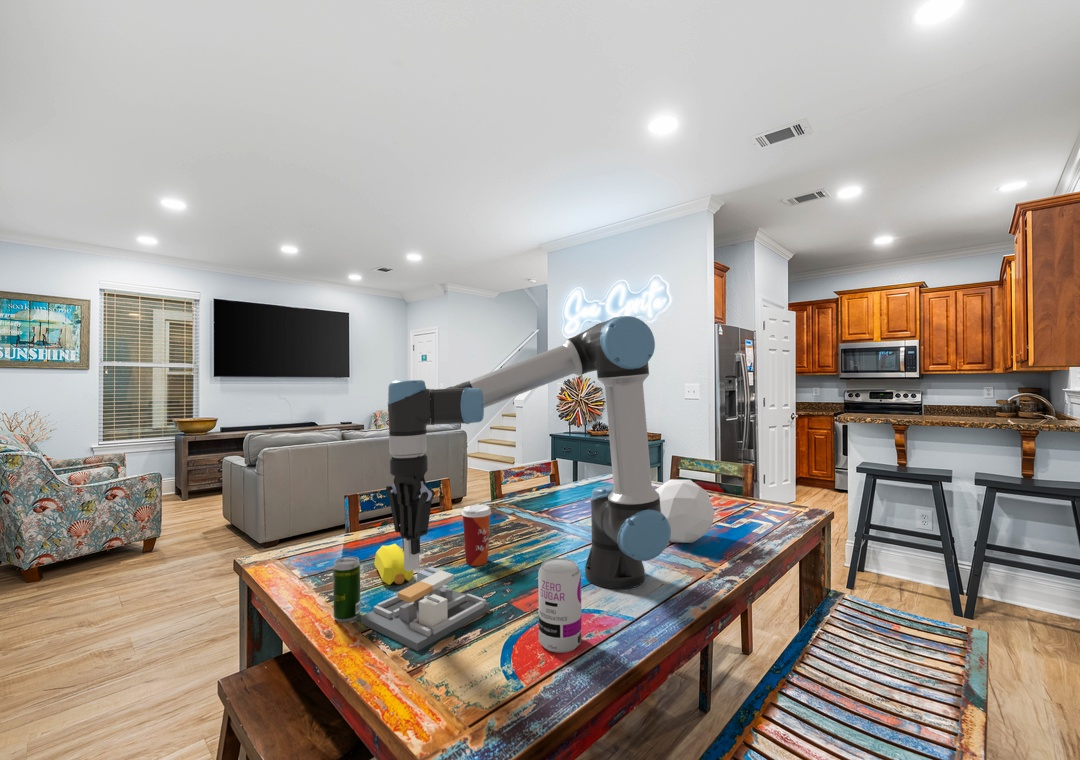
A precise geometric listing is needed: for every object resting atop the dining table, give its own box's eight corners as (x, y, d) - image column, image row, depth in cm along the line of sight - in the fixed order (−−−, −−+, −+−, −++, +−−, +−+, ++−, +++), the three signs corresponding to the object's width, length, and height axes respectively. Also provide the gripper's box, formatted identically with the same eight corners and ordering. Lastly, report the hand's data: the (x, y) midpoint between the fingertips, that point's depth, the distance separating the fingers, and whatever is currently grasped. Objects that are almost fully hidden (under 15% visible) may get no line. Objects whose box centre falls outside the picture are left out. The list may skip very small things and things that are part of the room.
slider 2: (447, 621, 98) (447, 597, 98) (432, 629, 95) (432, 605, 95) (434, 615, 101) (433, 592, 101) (418, 623, 98) (418, 599, 98)
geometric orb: (699, 563, 151) (739, 519, 144) (648, 548, 144) (687, 501, 137) (675, 518, 167) (711, 476, 160) (629, 503, 160) (663, 458, 153)
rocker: (453, 582, 108) (453, 574, 108) (410, 606, 98) (409, 597, 98) (441, 578, 110) (441, 570, 110) (397, 601, 101) (397, 592, 101)
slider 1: (442, 589, 113) (442, 569, 113) (428, 596, 110) (428, 575, 110) (430, 585, 116) (430, 565, 115) (417, 591, 112) (417, 571, 112)
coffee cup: (486, 568, 130) (486, 512, 130) (457, 566, 132) (457, 511, 132) (495, 557, 139) (495, 504, 139) (468, 555, 140) (467, 503, 140)
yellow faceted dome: (384, 591, 117) (416, 584, 121) (384, 563, 117) (416, 557, 121) (372, 566, 133) (400, 561, 137) (372, 541, 133) (400, 537, 137)
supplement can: (578, 631, 98) (578, 556, 98) (583, 654, 90) (583, 573, 90) (538, 632, 98) (537, 557, 98) (539, 655, 89) (539, 573, 89)
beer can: (363, 610, 107) (362, 555, 107) (356, 622, 102) (356, 565, 102) (338, 611, 107) (337, 556, 107) (330, 623, 102) (329, 566, 102)
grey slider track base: (490, 610, 107) (489, 582, 107) (417, 651, 91) (417, 619, 91) (434, 589, 118) (433, 564, 118) (360, 623, 102) (360, 594, 102)
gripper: (444, 454, 100) (447, 568, 100) (403, 450, 108) (406, 556, 108) (414, 459, 94) (418, 581, 94) (373, 455, 101) (377, 567, 102)
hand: (412, 568), depth 101 cm, fingers closed
